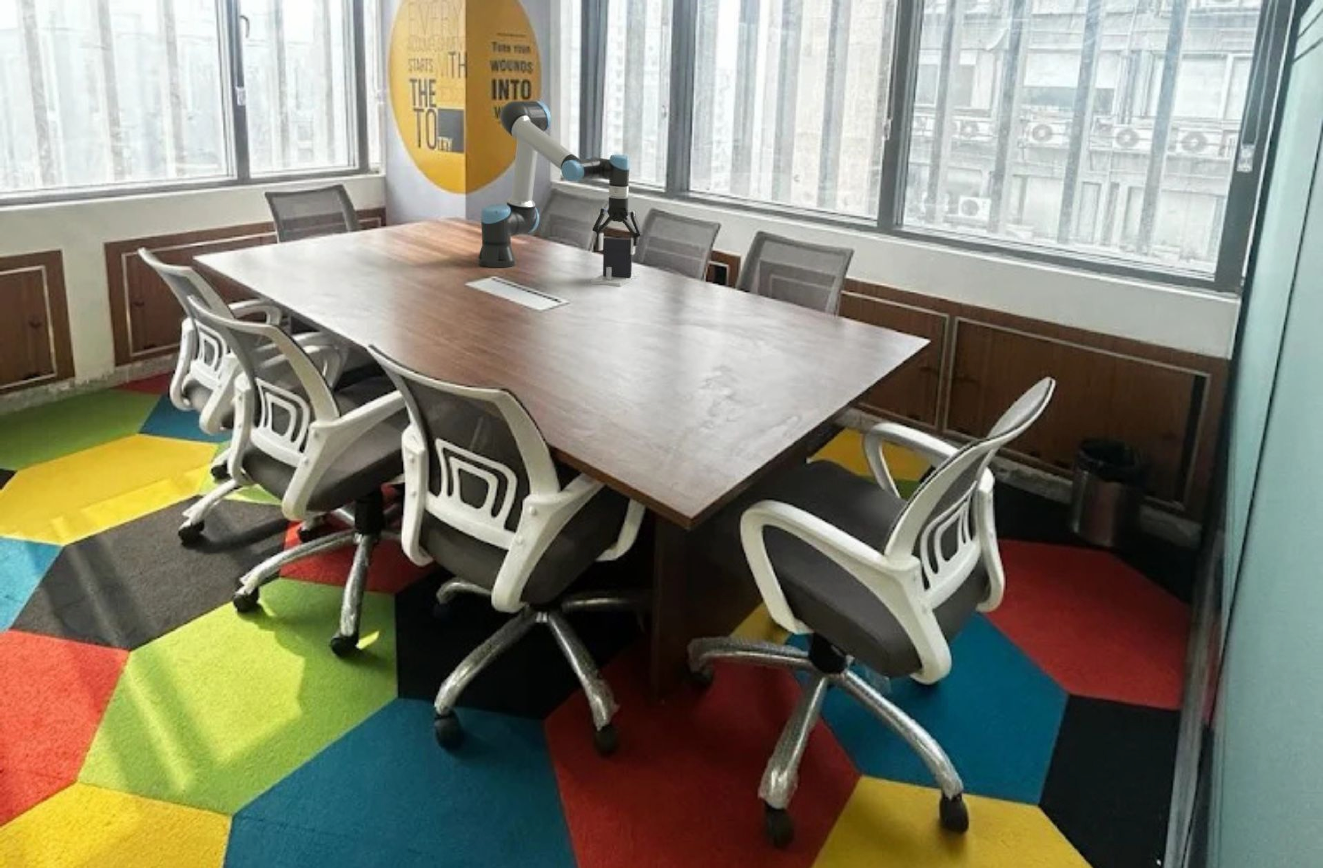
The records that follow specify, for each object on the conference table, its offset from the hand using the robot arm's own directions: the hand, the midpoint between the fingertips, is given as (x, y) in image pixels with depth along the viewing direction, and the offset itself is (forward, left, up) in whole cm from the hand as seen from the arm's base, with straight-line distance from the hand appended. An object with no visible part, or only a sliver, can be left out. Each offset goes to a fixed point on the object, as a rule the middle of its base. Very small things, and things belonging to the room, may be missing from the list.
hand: (616, 252), depth 376 cm
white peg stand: (0, 0, -11) cm, 11 cm away
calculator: (+1, 0, -10) cm, 10 cm away
